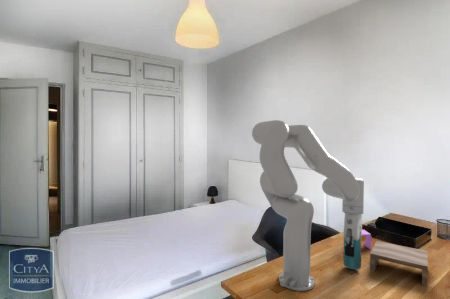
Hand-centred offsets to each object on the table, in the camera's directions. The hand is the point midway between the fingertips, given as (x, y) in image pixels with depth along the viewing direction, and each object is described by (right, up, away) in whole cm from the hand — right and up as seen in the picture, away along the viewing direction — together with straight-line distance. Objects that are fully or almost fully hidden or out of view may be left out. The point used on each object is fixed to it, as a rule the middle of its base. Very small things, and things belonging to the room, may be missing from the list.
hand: (352, 251), depth 106 cm
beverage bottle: (0, -7, 0) cm, 7 cm away
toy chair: (+14, -6, +22) cm, 27 cm away
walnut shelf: (+19, -7, 0) cm, 20 cm away
